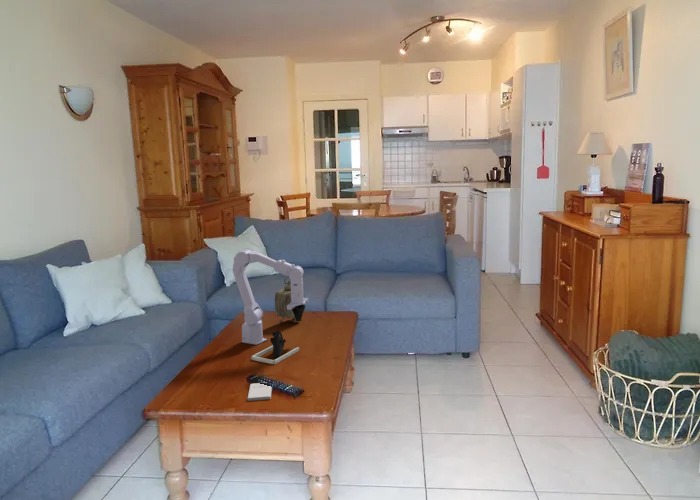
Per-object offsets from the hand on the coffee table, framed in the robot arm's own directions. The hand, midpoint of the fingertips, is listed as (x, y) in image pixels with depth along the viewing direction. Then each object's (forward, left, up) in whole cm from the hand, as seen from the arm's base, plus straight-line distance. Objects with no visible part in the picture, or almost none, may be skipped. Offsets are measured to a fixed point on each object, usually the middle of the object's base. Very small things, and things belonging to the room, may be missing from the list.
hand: (298, 320), depth 242 cm
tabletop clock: (-22, +24, -11) cm, 34 cm away
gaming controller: (+1, -17, -11) cm, 20 cm away
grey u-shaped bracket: (0, -18, -10) cm, 21 cm away
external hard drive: (+18, -51, -11) cm, 56 cm away
